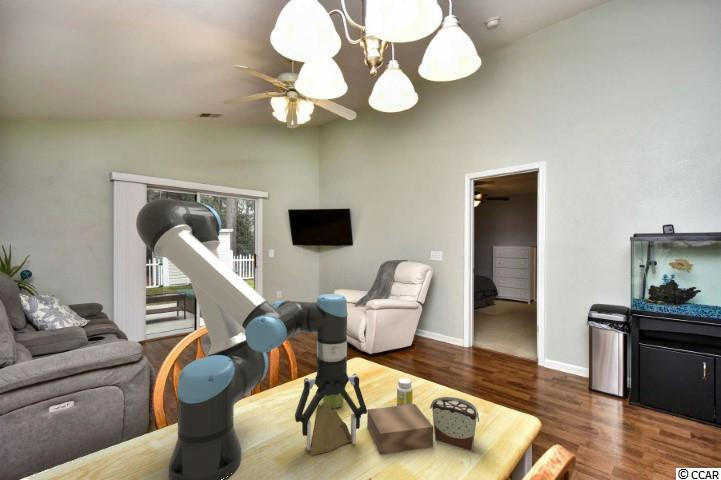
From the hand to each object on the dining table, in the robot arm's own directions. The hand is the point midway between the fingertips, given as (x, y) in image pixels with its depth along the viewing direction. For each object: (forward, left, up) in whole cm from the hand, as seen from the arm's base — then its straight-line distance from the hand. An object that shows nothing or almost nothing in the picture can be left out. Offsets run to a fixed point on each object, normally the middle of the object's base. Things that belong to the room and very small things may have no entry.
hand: (331, 444), depth 87 cm
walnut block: (+18, 0, 0) cm, 18 cm away
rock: (0, 0, -1) cm, 1 cm away
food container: (+32, -5, -1) cm, 32 cm away
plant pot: (+4, +21, -1) cm, 21 cm away
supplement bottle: (+25, +14, -1) cm, 29 cm away
